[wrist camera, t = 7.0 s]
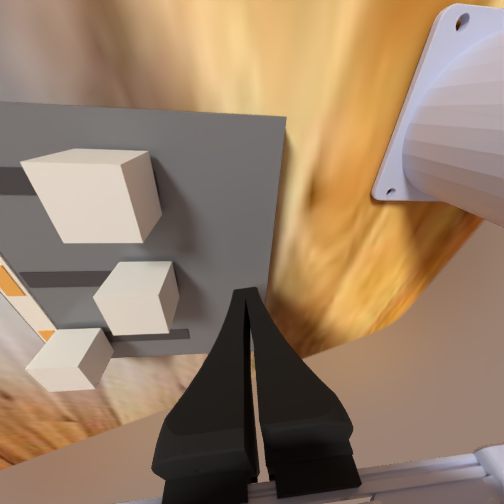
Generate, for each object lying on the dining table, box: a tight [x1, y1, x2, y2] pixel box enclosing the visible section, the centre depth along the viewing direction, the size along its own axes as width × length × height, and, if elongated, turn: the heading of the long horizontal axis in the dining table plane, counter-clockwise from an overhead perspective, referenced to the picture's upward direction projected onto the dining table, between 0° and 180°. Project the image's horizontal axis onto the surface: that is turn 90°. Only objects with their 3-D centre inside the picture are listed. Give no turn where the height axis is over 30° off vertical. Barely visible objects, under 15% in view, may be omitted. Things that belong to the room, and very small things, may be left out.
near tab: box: [20, 148, 162, 243], centre depth 9 cm, size 3×3×3 cm
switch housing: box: [0, 102, 286, 358], centre depth 14 cm, size 17×18×2 cm
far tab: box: [25, 328, 114, 392], centre depth 15 cm, size 3×3×3 cm
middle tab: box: [93, 261, 179, 335], centre depth 12 cm, size 3×3×3 cm
